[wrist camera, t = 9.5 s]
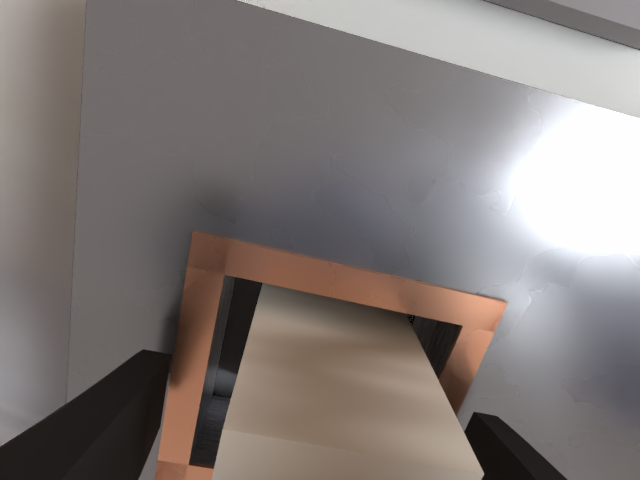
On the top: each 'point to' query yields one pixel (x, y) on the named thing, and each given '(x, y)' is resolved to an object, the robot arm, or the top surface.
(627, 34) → the gray square plate
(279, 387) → the peg
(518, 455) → the robot arm
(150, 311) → the hole plate
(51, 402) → the top surface
